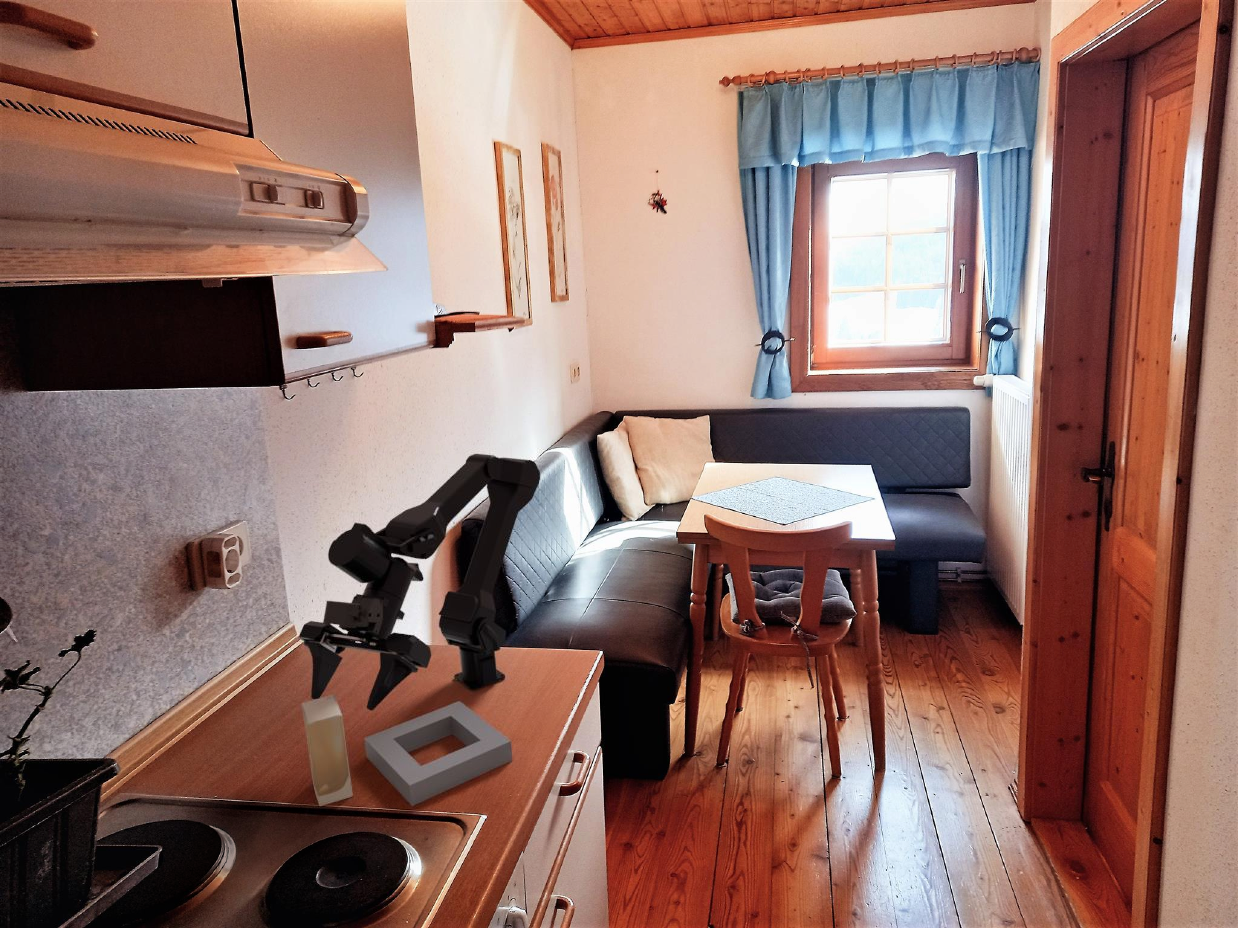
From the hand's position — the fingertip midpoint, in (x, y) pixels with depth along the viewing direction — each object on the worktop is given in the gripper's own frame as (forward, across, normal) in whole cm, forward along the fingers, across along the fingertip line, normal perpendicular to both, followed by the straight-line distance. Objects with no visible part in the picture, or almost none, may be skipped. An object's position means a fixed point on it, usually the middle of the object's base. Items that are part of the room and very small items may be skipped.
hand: (341, 704), depth 112 cm
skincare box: (+10, 0, +5) cm, 11 cm away
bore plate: (+2, +10, +12) cm, 16 cm away
